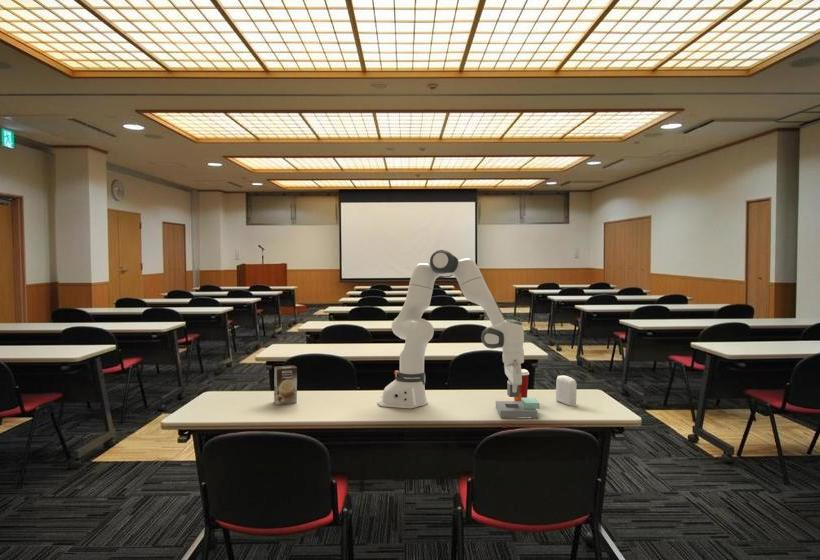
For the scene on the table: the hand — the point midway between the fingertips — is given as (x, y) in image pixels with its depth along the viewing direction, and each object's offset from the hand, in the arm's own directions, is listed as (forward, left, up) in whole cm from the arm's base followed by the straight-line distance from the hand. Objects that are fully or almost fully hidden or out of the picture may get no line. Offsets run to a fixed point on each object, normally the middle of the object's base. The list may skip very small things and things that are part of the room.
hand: (513, 390), depth 211 cm
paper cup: (+7, +18, -10) cm, 22 cm away
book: (+27, +15, -10) cm, 32 cm away
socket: (+1, -1, -10) cm, 10 cm away
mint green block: (+7, -1, -6) cm, 10 cm away
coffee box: (-100, +10, -10) cm, 101 cm away
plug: (0, 0, -2) cm, 2 cm away
